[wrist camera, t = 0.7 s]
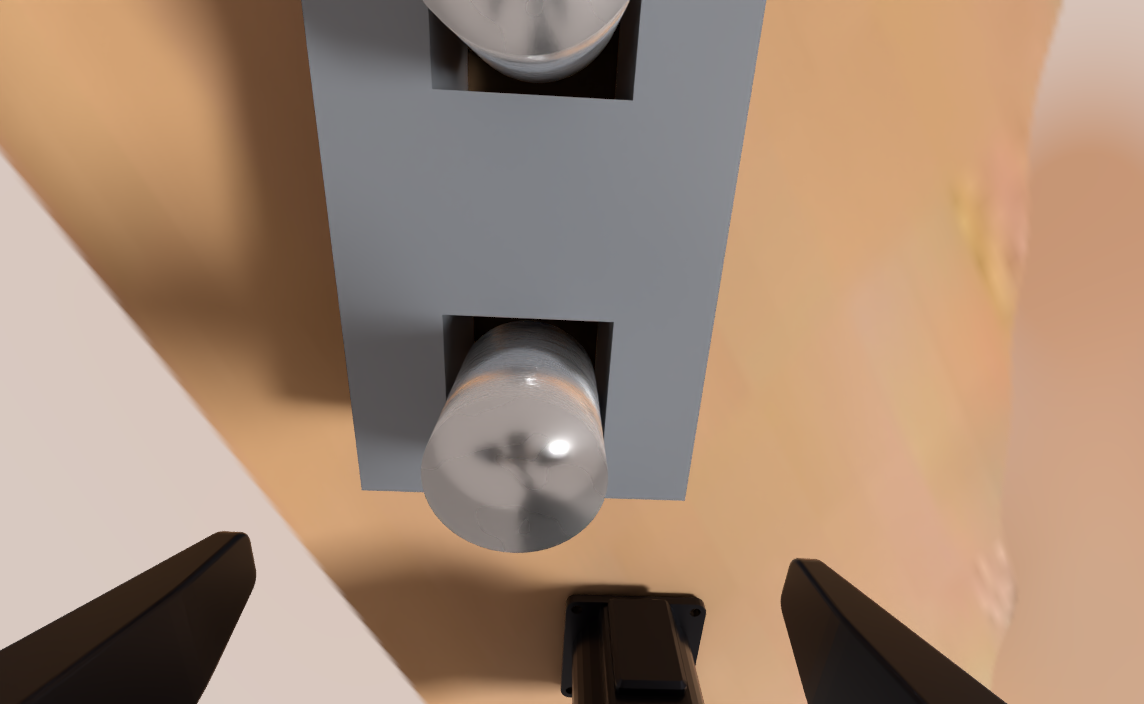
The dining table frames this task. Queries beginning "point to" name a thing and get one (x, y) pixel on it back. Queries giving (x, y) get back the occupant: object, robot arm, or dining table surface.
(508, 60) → the peg
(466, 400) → the peg
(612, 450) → the socket block
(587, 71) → the dining table surface
